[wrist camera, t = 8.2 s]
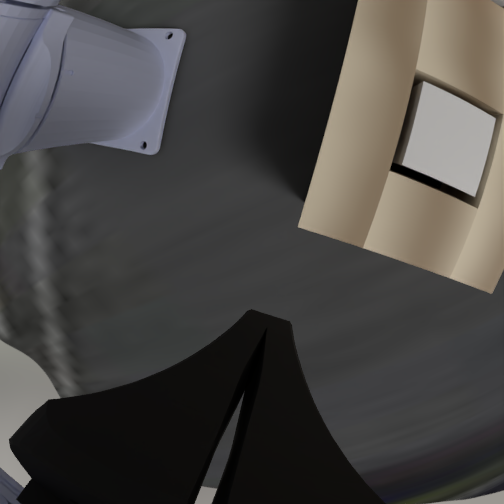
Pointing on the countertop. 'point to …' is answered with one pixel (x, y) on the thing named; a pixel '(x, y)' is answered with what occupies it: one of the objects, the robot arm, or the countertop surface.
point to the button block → (388, 131)
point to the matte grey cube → (444, 138)
